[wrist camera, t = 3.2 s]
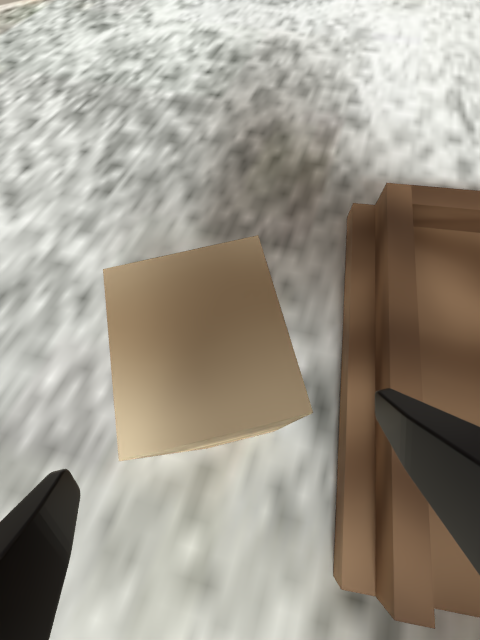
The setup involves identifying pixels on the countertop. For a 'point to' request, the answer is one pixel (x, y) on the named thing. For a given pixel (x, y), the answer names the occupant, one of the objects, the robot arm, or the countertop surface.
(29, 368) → the countertop surface
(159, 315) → the tan wooden block
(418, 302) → the groove sill
